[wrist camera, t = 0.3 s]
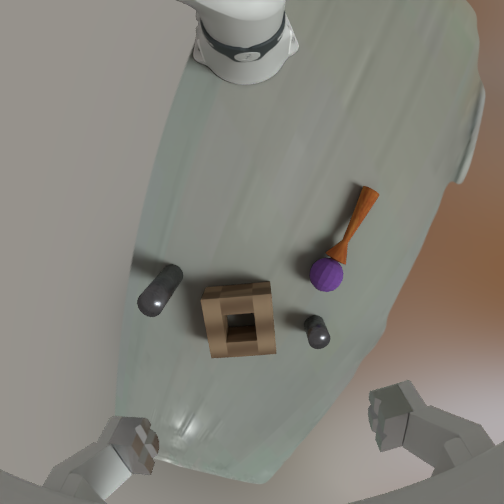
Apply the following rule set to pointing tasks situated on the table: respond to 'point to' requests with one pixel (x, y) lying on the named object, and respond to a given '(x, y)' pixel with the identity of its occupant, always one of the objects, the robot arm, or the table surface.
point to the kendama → (341, 247)
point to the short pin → (317, 332)
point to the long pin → (160, 291)
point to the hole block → (242, 337)
